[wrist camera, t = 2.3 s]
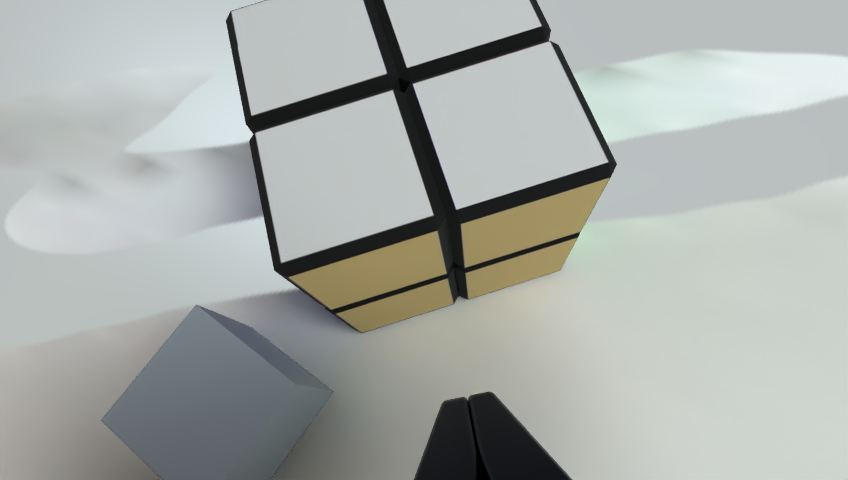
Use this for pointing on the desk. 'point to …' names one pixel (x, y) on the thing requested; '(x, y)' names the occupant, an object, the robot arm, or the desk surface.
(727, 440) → the desk surface
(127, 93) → the desk surface
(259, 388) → the slate block
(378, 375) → the desk surface
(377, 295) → the puzzle cube
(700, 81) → the desk surface
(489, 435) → the robot arm
